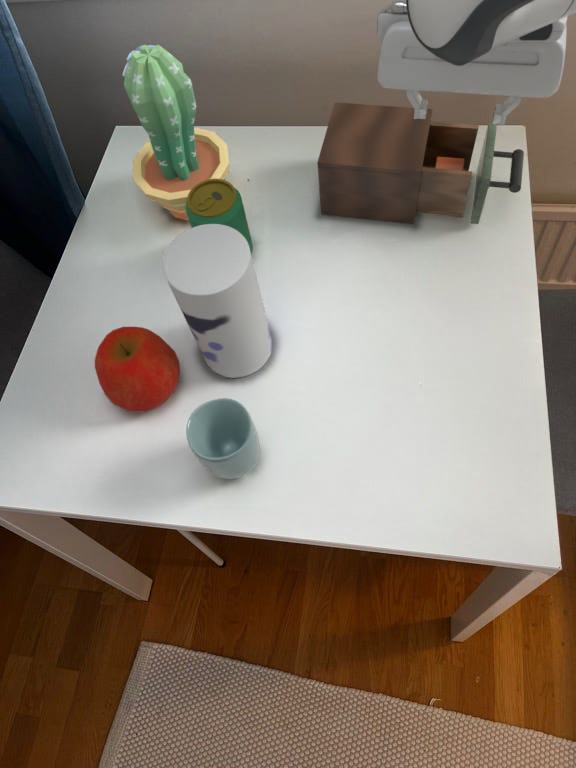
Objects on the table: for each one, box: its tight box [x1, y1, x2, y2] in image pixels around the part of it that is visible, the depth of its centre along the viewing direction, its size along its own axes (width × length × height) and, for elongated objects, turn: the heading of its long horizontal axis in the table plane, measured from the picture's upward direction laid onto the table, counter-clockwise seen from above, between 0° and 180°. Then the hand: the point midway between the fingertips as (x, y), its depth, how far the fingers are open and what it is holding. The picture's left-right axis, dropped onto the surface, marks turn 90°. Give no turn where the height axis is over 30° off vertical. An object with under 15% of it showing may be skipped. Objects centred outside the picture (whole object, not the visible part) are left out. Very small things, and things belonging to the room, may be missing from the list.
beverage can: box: [185, 179, 254, 254], centre depth 85 cm, size 8×8×12 cm
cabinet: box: [316, 101, 433, 225], centre depth 88 cm, size 15×13×11 cm
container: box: [162, 224, 274, 379], centre depth 73 cm, size 10×10×20 cm
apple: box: [94, 326, 181, 413], centre depth 76 cm, size 11×11×11 cm
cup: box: [185, 397, 261, 480], centre depth 70 cm, size 8×8×10 cm
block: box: [435, 157, 464, 171], centre depth 87 cm, size 4×4×4 cm
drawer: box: [416, 120, 525, 225], centre depth 86 cm, size 18×11×9 cm, turn 77°
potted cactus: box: [122, 43, 230, 222], centre depth 85 cm, size 15×15×25 cm
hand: (458, 118), depth 72 cm, fingers open, 8 cm apart
